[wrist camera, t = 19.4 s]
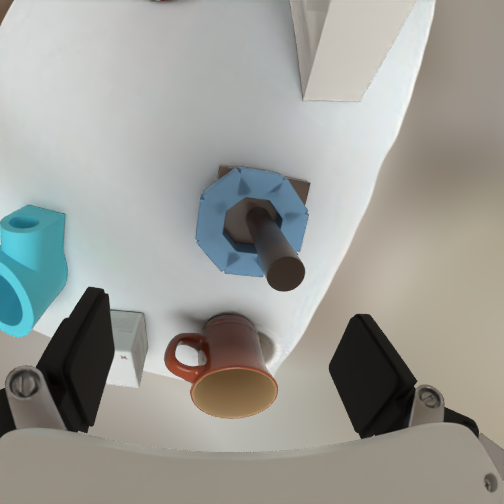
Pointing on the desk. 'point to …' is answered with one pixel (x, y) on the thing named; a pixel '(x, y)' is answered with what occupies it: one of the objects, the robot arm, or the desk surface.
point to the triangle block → (344, 44)
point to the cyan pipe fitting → (30, 266)
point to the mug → (225, 368)
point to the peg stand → (266, 235)
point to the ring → (230, 193)
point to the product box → (128, 349)
